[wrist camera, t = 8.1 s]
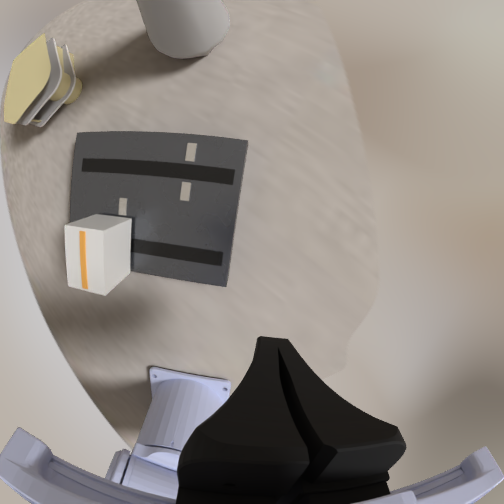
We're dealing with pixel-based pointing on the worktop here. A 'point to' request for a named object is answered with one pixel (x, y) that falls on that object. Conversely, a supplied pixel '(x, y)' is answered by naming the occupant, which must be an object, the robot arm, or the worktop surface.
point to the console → (164, 197)
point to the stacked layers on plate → (40, 83)
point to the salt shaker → (185, 25)
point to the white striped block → (97, 252)
